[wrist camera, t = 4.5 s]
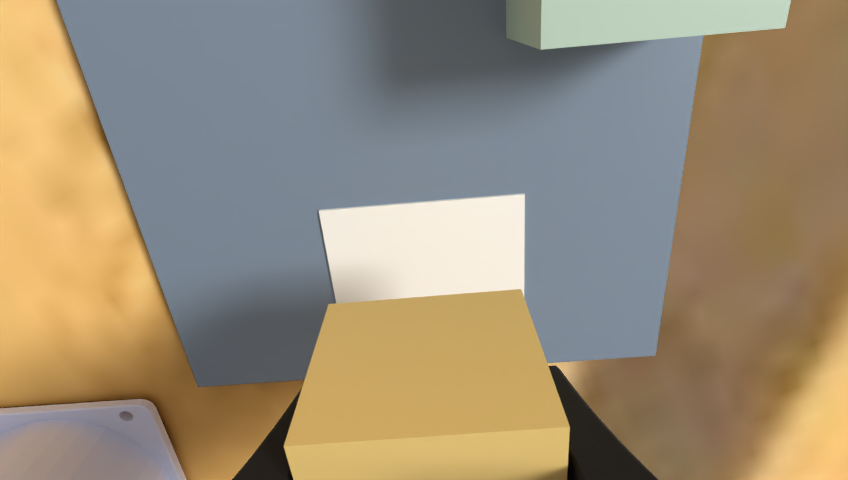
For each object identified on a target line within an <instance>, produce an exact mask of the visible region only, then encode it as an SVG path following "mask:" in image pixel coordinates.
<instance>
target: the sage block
mask: <svg viewBox="0 0 848 480" xmlns="http://www.w3.org/2000/svg"><path fill="white" fill-rule="evenodd" d="M790 3H791V0H506V38H508V39H511V40H514V41H517V42H520V43H523V44H525V45H528V46H531V47H534V48H537V49H540V50H543V49H554V48H566V47H577V46H588V45H599V44H610V43H621V42H633V41H644V40H655V39H666V38H677V37H688V36H700V35H711V34H722V33H733V32H744V31H755V30H767V29H778V28H785V26H786V21H787V16H788V12H789V7H790Z"/></svg>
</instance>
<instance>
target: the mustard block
mask: <svg viewBox="0 0 848 480" xmlns="http://www.w3.org/2000/svg"><path fill="white" fill-rule="evenodd" d="M569 434H570V426H569V423H568V420H567V417H566V414H565V412H564V409H563V406H562V403H561V400H560V398H559V395H558V392H557V389H556V386H555V383H554V381H553V378H552V375H551V372H550V369H549V366H548V364H547V361H546V358H545V355H544V352H543V349H542V347H541V344H540V341H539V338H538V335H537V332H536V330H535V327H534V324H533V321H532V318H531V316H530V313H529V310H528V307H527V304H526V301H525V299H524V296H523V293H522V290H521V289H514V290H502V291H489V292H476V293H463V294H451V295H438V296H425V297H412V298H399V299H387V300H374V301H361V302H348V303H336V304H328V308H327V311H326V314H325V317H324V320H323V323H322V327H321V330H320V333H319V336H318V339H317V342H316V346H315V349H314V352H313V355H312V358H311V361H310V365H309V368H308V371H307V374H306V377H305V380H304V383H303V387H302V390H301V393H300V396H299V399H298V402H297V406H296V409H295V412H294V415H293V418H292V421H291V425H290V428H289V431H288V434H287V437H286V440H285V444H284V449H285V453H286V456H287V459H288V463H289V466H290V470H291V473H292V476H293V480H567V471H568V453H569Z"/></svg>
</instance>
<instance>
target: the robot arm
mask: <svg viewBox="0 0 848 480" xmlns="http://www.w3.org/2000/svg"><path fill="white" fill-rule="evenodd" d="M549 369H550V372H551V375H552V378H553V381H554V383H555V386H556V389H557V392H558V395H559V398H560V400H561V403H562V406H563V409H564V412H565V414H566V417H567V420H568V423H569V426H570V434H569V453H568V471H567V480H658V479H657V478H656V477H655V476H654V475H653V474H652V473H651V472H650V471H649V470H648V469H647V468H646V467H645V466H644V465H643V464H642V463H641V462H640V461H639V460H638V459H637V458H636V457H635V456H634V455H633V454H632V453H631V452H630V451H629V450H628V449H627V448H626V447H625V446H624V445H623V444H622V443H621V442H620V441H619V440H618V439H617V438H616V436H615V435H614V434H613V433H612V432H611V431H610V430H609V429H608V428H607V426H606V425H605V424H604V423H603V422H602V421H601V420H600V419H599V418H598V416H597V415H596V414H595V413H594V412H593V411H592V409H591V408H590V407H589V406H588V405H587V403H586V402H585V401H584V400H583V399H582V397H581V396H580V395H579V394H578V392H577V391H576V390H575V389H574V387H573V386H572V385H571V383H570V382H569V381H568V380H567V378H566V377H565V376H564V374H563V373H562V371H561V370H560V369H559V368H558V367H557V366H549ZM301 390H302V389H301ZM301 390H300V392H299V393H298V394H297V396H296V397H295V399H294V400H293V402H292V403H291V404H290V406H289V407H288V409H287V410H286V411H285V413H284V414H283V416H282V417H281V418H280V420H279V421H278V422H277V424H276V425H275V427H274V428H273V429H272V431H271V432H270V433H269V434H268V436H267V437H266V438H265V440H264V441H263V442H262V444H261V445H260V446H259V448H258V449H257V450H256V451H255V453H254V454H253V455H252V457H251V458H250V459H249V460H248V462H247V463H246V464H245V465H244V466H243V467H242V469H241V470H240V471H239V472H238V473H237V475H236V476H235V477H234V478H233V479H232V480H293V476H292V473H291V470H290V466H289V463H288V459H287V456H286V453H285V449H284V444H285V440H286V437H287V434H288V431H289V428H290V425H291V421H292V418H293V415H294V412H295V409H296V406H297V402H298V399H299V396H300V393H301ZM127 411H128V412H127ZM129 412H130V413H129ZM0 480H187V479H186V477H185V475H184V472H183V470H182V467H181V465H180V463H179V460H178V458H177V456H176V453H175V451H174V449H173V446H172V444H171V441H170V439H169V437H168V434H167V432H166V430H165V427H164V425H163V423H162V420H161V418H160V415H159V413H158V411H157V408H156V407H155V405H154V404H153V403H152V402H150V401H148V400H146V399H130V400H116V401H101V402H86V403H72V404H57V405H43V406H28V407H14V408H0Z"/></svg>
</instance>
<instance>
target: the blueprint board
mask: <svg viewBox="0 0 848 480" xmlns="http://www.w3.org/2000/svg"><path fill="white" fill-rule="evenodd" d="M56 1H57V4H58V6H59V9H60V12H61V15H62V17H63V20H64V23H65V26H66V28H67V31H68V34H69V36H70V39H71V42H72V45H73V47H74V50H75V53H76V56H77V58H78V61H79V64H80V66H81V69H82V72H83V75H84V77H85V80H86V83H87V86H88V88H89V91H90V94H91V97H92V99H93V102H94V105H95V107H96V110H97V113H98V116H99V118H100V121H101V124H102V127H103V129H104V132H105V135H106V138H107V140H108V143H109V146H110V148H111V151H112V154H113V157H114V159H115V162H116V165H117V168H118V170H119V173H120V176H121V178H122V181H123V184H124V187H125V189H126V192H127V195H128V198H129V200H130V203H131V206H132V209H133V211H134V214H135V217H136V219H137V222H138V225H139V228H140V230H141V233H142V236H143V239H144V241H145V244H146V247H147V250H148V252H149V255H150V258H151V260H152V263H153V266H154V269H155V271H156V274H157V277H158V280H159V282H160V285H161V288H162V290H163V293H164V296H165V299H166V301H167V304H168V307H169V310H170V312H171V315H172V318H173V321H174V323H175V326H176V329H177V331H178V334H179V337H180V340H181V342H182V345H183V348H184V351H185V353H186V356H187V359H188V362H189V364H190V367H191V370H192V372H193V375H194V378H195V381H196V383H197V386H198V387H208V386H222V385H237V384H251V383H266V382H280V381H295V380H305V377H306V374H307V371H308V368H309V365H310V361H311V358H312V355H313V352H314V349H315V346H316V342H317V339H318V336H319V333H320V330H321V327H322V323H323V320H324V317H325V314H326V311H327V308H328V304H336V303H348V302H361V301H374V300H387V299H399V298H412V297H425V296H438V295H451V294H463V293H476V292H489V291H502V290H514V289H521V290H522V293H523V296H524V299H525V301H526V304H527V307H528V310H529V313H530V316H531V318H532V321H533V324H534V327H535V330H536V332H537V335H538V338H539V341H540V344H541V347H542V349H543V352H544V355H545V358H546V361H547V363H555V362H570V361H584V360H599V359H613V358H627V357H642V356H655V354H656V348H657V341H658V334H659V328H660V321H661V314H662V308H663V301H664V294H665V288H666V281H667V274H668V268H669V261H670V254H671V248H672V241H673V234H674V228H675V221H676V214H677V207H678V201H679V194H680V187H681V181H682V174H683V167H684V161H685V154H686V147H687V141H688V134H689V127H690V121H691V114H692V107H693V101H694V94H695V87H696V81H697V74H698V67H699V60H700V54H701V47H702V40H703V35H700V36H688V37H677V38H666V39H655V40H644V41H633V42H621V43H610V44H599V45H588V46H577V47H566V48H554V49H543V50H540V49H537V48H534V47H531V46H528V45H525V44H523V43H520V42H517V41H514V40H511V39H508V38H506V0H56Z"/></svg>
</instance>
